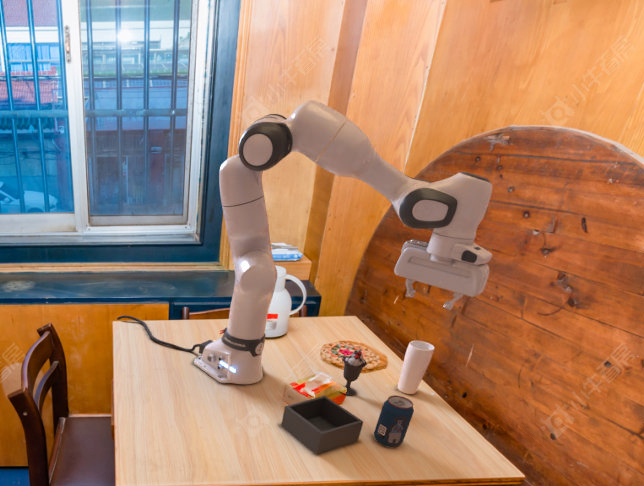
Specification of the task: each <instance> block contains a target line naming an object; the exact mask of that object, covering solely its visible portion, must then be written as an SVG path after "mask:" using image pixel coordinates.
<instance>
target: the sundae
mask: <svg viewBox="0 0 644 486" xmlns="http://www.w3.org/2000/svg"><path fill="white" fill-rule="evenodd" d="M341 360H342V362H343V374H342V375H343V379H344V380H345V381H346V383H345V386H344V387H346V388H347V392H346V394H345V395H344V396H354V395H356V390H355V389H353V388H351V385H352V382H355V381H357V380H358V379H359V377H360V375H361V372H362V370H363V369H364V368H365V367H366V366H368V363H367V361H366V360H365V358H364V355H363V354H362V348H360V349H359V350H358V351H357V350H354V351H353V352H352V353H351V354H350V355H346V356H344V357H342V359H341Z"/></svg>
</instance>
